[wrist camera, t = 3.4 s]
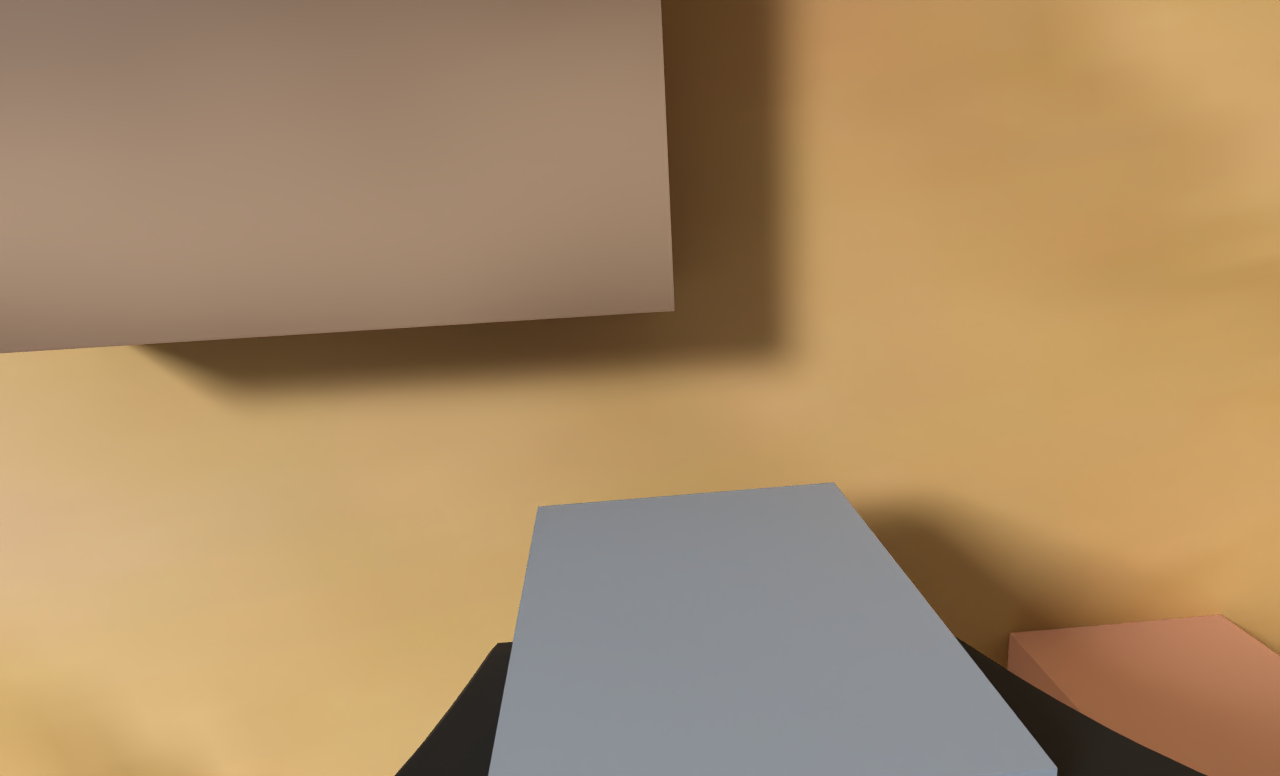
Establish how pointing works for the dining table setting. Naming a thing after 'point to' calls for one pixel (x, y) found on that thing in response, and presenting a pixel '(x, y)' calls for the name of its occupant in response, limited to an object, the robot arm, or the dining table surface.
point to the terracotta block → (1166, 687)
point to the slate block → (739, 649)
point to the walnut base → (326, 166)
